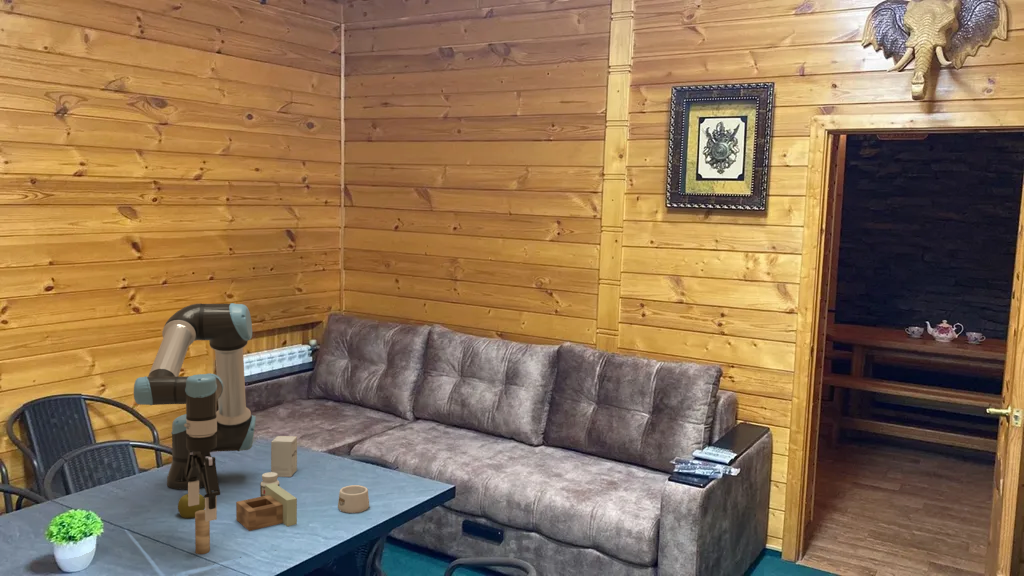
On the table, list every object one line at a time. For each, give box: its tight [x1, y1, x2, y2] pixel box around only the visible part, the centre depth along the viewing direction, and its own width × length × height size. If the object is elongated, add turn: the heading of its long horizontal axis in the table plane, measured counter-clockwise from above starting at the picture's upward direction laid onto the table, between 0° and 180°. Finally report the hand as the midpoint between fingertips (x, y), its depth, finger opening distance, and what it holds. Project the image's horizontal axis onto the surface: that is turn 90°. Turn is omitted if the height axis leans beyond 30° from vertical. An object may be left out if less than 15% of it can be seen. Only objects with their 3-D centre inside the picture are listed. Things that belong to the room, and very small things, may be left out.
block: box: [235, 495, 283, 532], centre depth 233 cm, size 10×10×6 cm
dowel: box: [194, 509, 211, 555], centre depth 212 cm, size 4×4×12 cm
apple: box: [177, 493, 205, 519], centre depth 238 cm, size 8×8×7 cm
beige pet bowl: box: [337, 484, 370, 514], centre depth 250 cm, size 12×10×6 cm
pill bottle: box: [259, 471, 280, 497], centre depth 250 cm, size 6×6×10 cm
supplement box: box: [270, 435, 298, 478], centre depth 280 cm, size 7×7×13 cm
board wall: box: [265, 483, 298, 527], centre depth 230 cm, size 16×28×9 cm, turn 129°
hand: (202, 512), depth 211 cm, fingers open, 13 cm apart
